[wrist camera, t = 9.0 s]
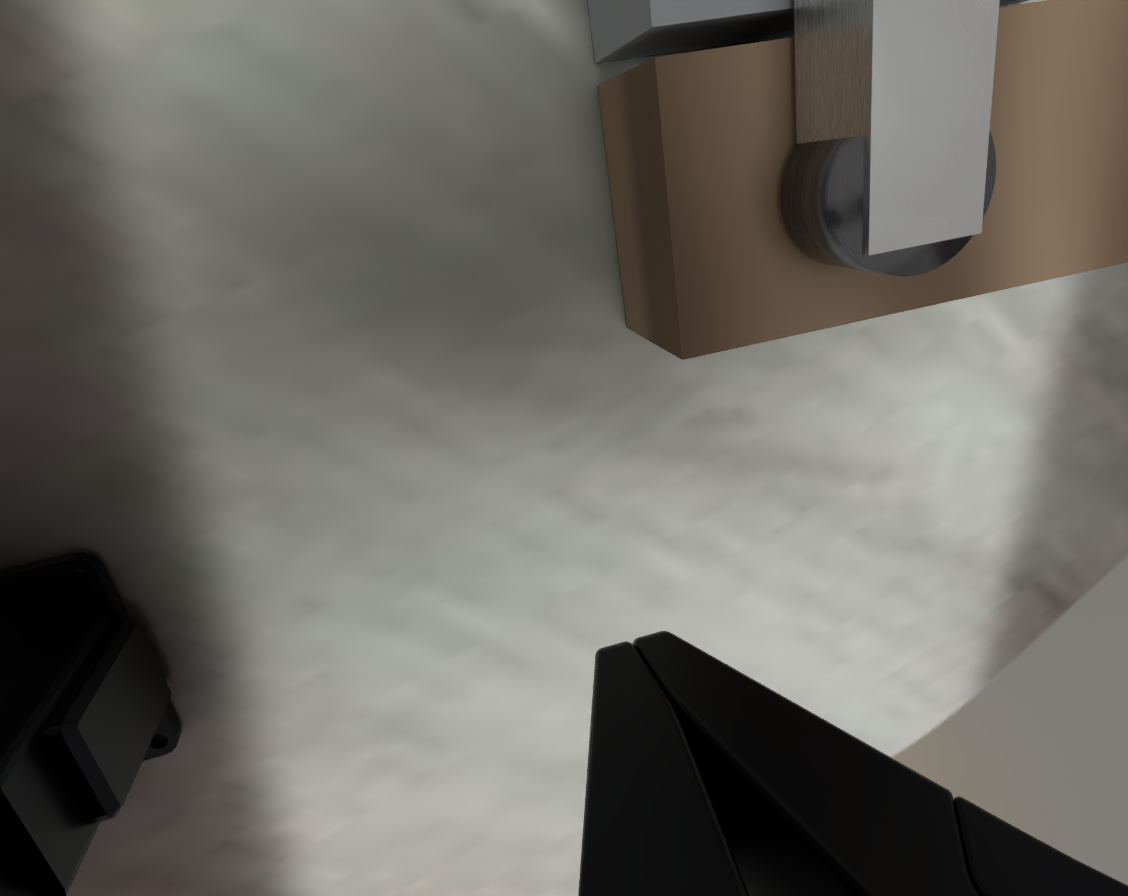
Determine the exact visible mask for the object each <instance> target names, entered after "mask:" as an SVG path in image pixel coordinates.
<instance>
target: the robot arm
mask: <svg viewBox="0 0 1128 896" xmlns="http://www.w3.org/2000/svg"><path fill="white" fill-rule="evenodd" d="M72 569H80V570H83V571H84V572H85V573H86V574H87V577H88V578H79V577H77V576H75V575H74V574H73V573H72ZM170 697H171V691H170V689H169V687H168V684H167V682H166V680H165V678H164V676H163V674H162V672H161V670H160V668H159V665H158V663H157V661H156V659H155V657H154V655H153V653H152V651H151V648H150V646H149V644H148V642H147V640H146V638H145V636H144V634H143V632H142V629H141V627H140V625H139V624H138V623H136V622H135V621H133V620H132V619H129V617H128V615H127V613H126V611H125V609H124V607H123V605H122V603H121V600H120V598H119V596H118V594H117V592H116V590H115V588H114V586H113V584H112V582H111V580H110V577H109V575H108V573H107V571H106V569H105V567H104V565H103V563H102V562H101V561H100V560H99V559H98V558H97V557H95V556H93V555H92V554H88V553H84V552H82V553H72V554H68V555H64V556H59V557H55V558H51V559H46V560H42V561H38V562H33V563H29V564H25V565H21V566H16V567H12V568H8V569H3V570H0V896H66V895H67V893H68V890H69V888H70V886H71V884H72V882H73V880H74V877H75V875H76V873H77V871H78V869H79V867H80V865H81V862H82V860H83V858H84V856H85V854H86V852H87V849H88V847H89V845H90V843H91V841H92V839H93V837H94V834H95V832H96V830H97V828H98V826H99V824H100V822H101V821H105V820H108V819H111V818H114V817H115V816H116V815H117V813H118V812H119V810H120V809H121V807H122V806H123V804H124V802H125V799H126V797H127V795H128V793H129V790H130V788H131V786H132V784H133V781H134V779H135V777H136V774H137V772H138V770H139V768H140V765H141V763H142V761H144V760H148V759H151V758H155V757H159V756H162V755H165V754H167V753H170V752H172V751H173V750H174V749H175V748H176V745H177V743H178V740H179V738H180V735H181V732H182V731H181V726H180V724H179V722H178V720H177V718H176V716H175V714H174V712H173V709H172V707H171V705H170V703H169V700H170ZM156 734H161V735H164V736H165V737H166V738H163V739H160V738H157V737H155V736H154V735H156ZM578 896H1128V885H1126V884H1124V883H1122V882H1120V881H1118V880H1116V879H1113V878H1112V877H1110V876H1108V875H1105V874H1103V873H1102V872H1099V871H1097V870H1095V869H1093V868H1091V867H1089V866H1087V865H1085V864H1083V863H1081V862H1079V861H1077V860H1075V859H1073V858H1071V857H1070V856H1067V855H1066V854H1064V853H1062V852H1060V851H1058V850H1057V849H1055V848H1053V847H1051V846H1049V845H1047V844H1045V843H1044V842H1042V841H1040V840H1038V839H1036V838H1034V837H1032V836H1031V835H1029V834H1027V833H1025V832H1023V831H1021V830H1020V829H1018V828H1016V827H1014V826H1012V825H1010V824H1008V823H1007V822H1005V821H1003V820H1001V819H999V818H998V817H996V816H994V815H992V814H990V813H989V812H987V811H985V810H983V809H982V808H980V807H978V806H976V805H975V804H973V803H971V802H969V801H968V800H966V799H964V798H962V797H956V798H954V800H953V796H952V793H951V792H950V791H949V790H948V789H946V788H944V787H942V786H940V785H938V784H937V783H935V782H933V781H932V780H930V779H928V778H926V777H924V776H923V775H921V774H919V773H917V772H916V771H914V770H912V769H910V768H909V767H907V766H905V765H903V764H901V763H900V762H898V761H896V760H895V759H893V758H891V757H889V756H887V755H886V754H884V753H882V752H880V751H879V750H877V749H875V748H873V747H872V746H870V745H868V744H866V743H865V742H863V741H861V740H859V739H857V738H856V737H854V736H852V735H850V734H849V733H847V732H845V731H843V730H842V729H840V728H838V727H836V726H834V725H833V724H831V723H829V722H827V721H826V720H824V719H822V718H820V717H819V716H817V715H815V714H813V713H812V712H810V711H808V710H806V709H804V708H803V707H801V706H799V705H797V704H796V703H794V702H792V701H790V700H789V699H787V698H785V697H783V696H781V695H780V694H778V693H776V692H774V691H773V690H771V689H769V688H767V687H766V686H764V685H762V684H760V683H759V682H757V681H755V680H753V679H751V678H750V677H748V676H746V675H744V674H743V673H741V672H739V671H737V670H736V669H734V668H732V667H730V666H729V665H727V664H725V663H723V662H721V661H720V660H718V659H716V658H714V657H713V656H711V655H709V654H707V653H706V652H704V651H702V650H700V649H698V648H697V647H695V646H693V645H691V644H690V643H688V642H686V641H684V640H683V639H681V638H679V637H677V636H676V635H674V634H672V633H670V632H667V631H660V632H657V633H653V634H650V635H646V636H643V637H639V638H637V639H635V640H634V642H633V644H632V643H630V642H621V643H618V644H614V645H611V646H607V647H604V648H601V649H599V650H598V651H597V652H596V656H595V670H594V684H593V698H592V712H591V726H590V740H589V755H588V769H587V783H586V797H585V811H584V825H583V839H582V853H581V867H580V881H579V895H578Z"/></svg>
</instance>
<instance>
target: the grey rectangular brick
mask: <svg viewBox="0 0 1128 896" xmlns="http://www.w3.org/2000/svg"><path fill="white" fill-rule="evenodd" d="M1024 1H1027V0H1000V2H999V5H1005V4H1012V3H1019V2H1024ZM588 9H589V17H590V25H591V34H592V42H593V50H594V59H595V64H596V63H602V62H609V61H616V60H623V59H630V58H637V57H644V56H651V55H658V54H665V53H672V52H679V51H686V50H693V49H700V48H707V47H714V46H721V45H727V44H734V43H741V42H748V41H755V40H762V39H769V38H776V37H783V36H790V35H795V32H794V0H588Z"/></svg>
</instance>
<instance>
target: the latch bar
mask: <svg viewBox="0 0 1128 896" xmlns="http://www.w3.org/2000/svg"><path fill="white" fill-rule="evenodd" d="M999 2H1000V0H794V32H795V84H796V135H797V144H796V145H795V147H794V149H793V151H792V153H791V155H790V157H789V159H788V162H787V164H786V167H785V170H784V174H783V178H782V184H781V197H780V202H781V212H782V217H783V221H784V224H785V227H786V230H787V232H788V234H789V236H790V238H791V239H792V241H793V242H794V244H795V245H796V246H797V247H798V249H799V250H800V251H801V252H802V253H804V254H805V255H806V256H808V257H809V258H811V259H813V260H815V261H817V262H820V263H822V264H827V265H833V266H839V267H845V268H851V269H857V270H863V271H869V272H875V273H881V274H887V275H893V276H903V277H908V276H916V275H920V274H924V273H927V272H929V271H932V270H934V269H936V268H938V267H940V266H941V265H943V264H945V263H946V262H948V261H949V260H950V259H952V258H953V257H954V256H955V255H956V254H957V253H958V252H959V251H961V250H962V249H963V247H964V246H965V245H966V244H967V243H968V242H969V241H970V239H971V238H972V236H973V235H975V234H980V233H982V220H983V218H984V216H985V214H986V211H987V209H988V206H989V203H990V201H991V198H992V193H993V189H994V184H995V177H996V153H995V147H994V142H993V138H992V135H991V132H990V117H991V105H992V92H993V79H994V66H995V53H996V40H997V28H998V15H999Z"/></svg>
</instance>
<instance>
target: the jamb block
mask: <svg viewBox="0 0 1128 896" xmlns="http://www.w3.org/2000/svg"><path fill="white" fill-rule="evenodd" d="M598 92H599V100H600V109H601V117H602V125H603V134H604V142H605V150H606V159H607V167H608V175H609V184H610V192H611V200H612V209H613V217H614V225H615V234H616V242H617V250H618V258H619V267H620V275H621V283H622V292H623V300H624V308H625V317H626V325H627V328H628V329H630V330H632V331H634V332H635V333H637V334H639V335H640V336H642V337H644V338H646V339H647V340H649V341H651V342H653V343H654V344H656V345H658V346H659V347H661V348H663V349H665V350H666V351H668V352H670V353H672V354H673V355H675V356H677V357H678V358H680V359H682V360H683V359H688V358H693V357H697V356H702V355H706V354H711V353H715V352H720V351H725V350H729V349H734V348H738V347H743V346H747V345H752V344H756V343H761V342H766V341H770V340H775V339H779V338H784V337H788V336H793V335H798V334H802V333H807V332H811V331H816V330H820V329H825V328H830V327H834V326H839V325H843V324H848V323H852V322H857V321H862V320H866V319H871V318H875V317H880V316H884V315H889V314H894V313H898V312H903V311H907V310H912V309H916V308H921V307H925V306H930V305H935V304H939V303H944V302H948V301H953V300H957V299H962V298H967V297H971V296H976V295H980V294H985V293H989V292H994V291H999V290H1003V289H1008V288H1012V287H1017V286H1021V285H1026V284H1031V283H1035V282H1040V281H1044V280H1049V279H1053V278H1058V277H1063V276H1067V275H1072V274H1076V273H1081V272H1085V271H1090V270H1094V269H1099V268H1104V267H1108V266H1113V265H1117V264H1122V263H1126V262H1128V0H1047V1H1040V2H1033V3H1026V4H1019V5H1012V6H1006V7H999V15H998V28H997V40H996V53H995V66H994V79H993V92H992V105H991V117H990V132H991V135H992V138H993V142H994V147H995V153H996V177H995V184H994V189H993V193H992V198H991V201H990V203H989V206H988V209H987V211H986V214H985V216H984V218H983V220H982V233H980V234H975V235H973V236H972V238H971V239H970V241H969V242H968V243H967V244H966V245H965V246H964V247H963V249H962V250H961V251H959V252H958V253H957V254H956V255H955V256H954V257H953V258H952V259H950V260H949V261H948V262H946V263H945V264H943V265H941V266H940V267H938V268H936V269H934V270H932V271H929V272H927V273H924V274H920V275H916V276H908V277H903V276H893V275H887V274H881V273H875V272H869V271H863V270H857V269H851V268H845V267H839V266H833V265H827V264H822V263H820V262H817V261H815V260H813V259H811V258H809V257H808V256H806V255H805V254H804V253H802V252H801V251H800V250H799V249H798V247H797V246H796V245H795V244H794V242H793V241H792V239H791V238H790V236H789V234H788V232H787V230H786V227H785V224H784V221H783V217H782V212H781V202H780V197H781V184H782V178H783V174H784V170H785V167H786V164H787V162H788V159H789V157H790V155H791V153H792V151H793V149H794V147H795V145H796V144H797V135H796V84H795V37H791V38H784V39H777V40H770V41H763V42H757V43H750V44H743V45H736V46H729V47H722V48H715V49H708V50H701V51H694V52H687V53H680V54H674V55H667V56H660V57H654V58H652V59H650V60H649V61H647V62H645V63H643V64H641V65H639V66H637V67H635V68H633V69H631V70H629V71H627V72H625V73H623V74H621V75H619V76H617V77H616V78H614V79H612V80H610V81H608V82H606V83H604V84H602V85H600V86H598Z"/></svg>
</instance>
